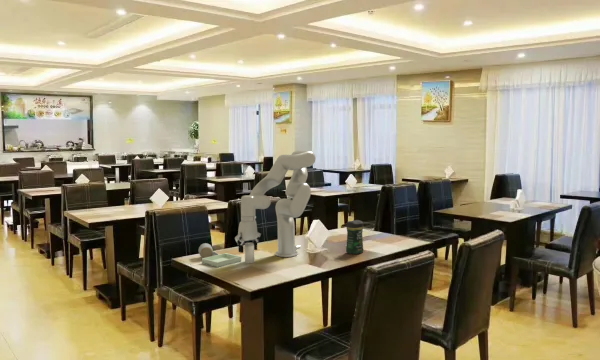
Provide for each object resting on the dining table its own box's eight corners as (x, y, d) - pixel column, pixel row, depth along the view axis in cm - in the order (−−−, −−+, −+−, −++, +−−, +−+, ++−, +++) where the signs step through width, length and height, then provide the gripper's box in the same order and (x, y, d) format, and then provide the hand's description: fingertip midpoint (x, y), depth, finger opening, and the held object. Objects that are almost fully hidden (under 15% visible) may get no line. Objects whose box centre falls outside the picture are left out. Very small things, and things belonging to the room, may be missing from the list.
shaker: (250, 260, 261) (249, 242, 260) (256, 261, 258) (255, 243, 257) (243, 262, 258) (242, 243, 257) (249, 263, 254) (248, 245, 253)
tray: (225, 257, 268) (225, 252, 268) (241, 261, 259) (241, 256, 259) (202, 263, 256) (201, 258, 256) (217, 267, 248) (217, 262, 247)
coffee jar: (354, 255, 269) (354, 222, 267) (343, 253, 275) (343, 220, 273) (365, 252, 275) (365, 220, 274) (355, 250, 281) (355, 218, 280)
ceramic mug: (200, 260, 262) (200, 246, 262) (198, 257, 270) (198, 243, 270) (219, 259, 266) (219, 245, 265) (217, 255, 274) (217, 242, 273)
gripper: (255, 216, 265) (255, 247, 266) (230, 219, 252) (230, 252, 253) (265, 218, 259) (264, 249, 261) (240, 221, 247) (240, 254, 248)
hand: (247, 251), depth 257 cm, fingers open, 9 cm apart
